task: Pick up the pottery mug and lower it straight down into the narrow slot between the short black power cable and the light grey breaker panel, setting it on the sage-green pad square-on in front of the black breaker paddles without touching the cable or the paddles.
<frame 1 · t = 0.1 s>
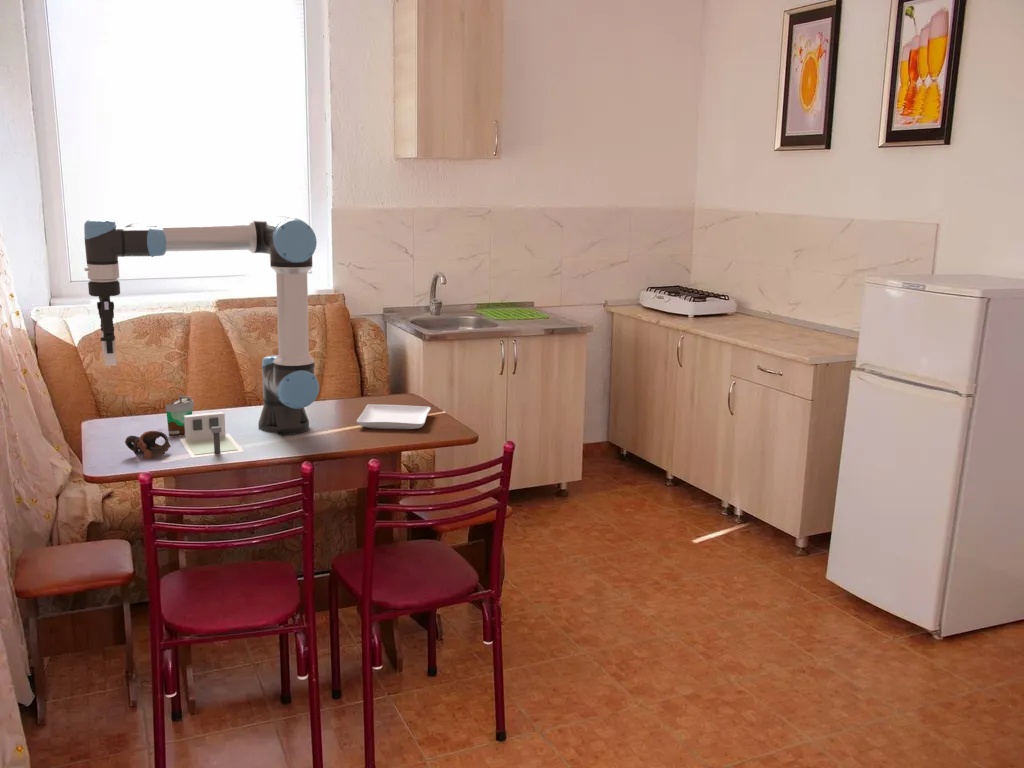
hand: (109, 360, 247), 28 cm above the table, tool pointing down, fingers open, 13 cm apart
salad plate: (394, 423, 298), on the table
breaker paddles: (205, 424, 270), point 6 cm above the table, hinge at 0.0°
food container: (184, 433, 281), on the table
pottery mug: (148, 457, 257), on the table
power cable: (216, 440, 257), point 5 cm above the table, hinge at 0.0°
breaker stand: (211, 448, 265), on the table
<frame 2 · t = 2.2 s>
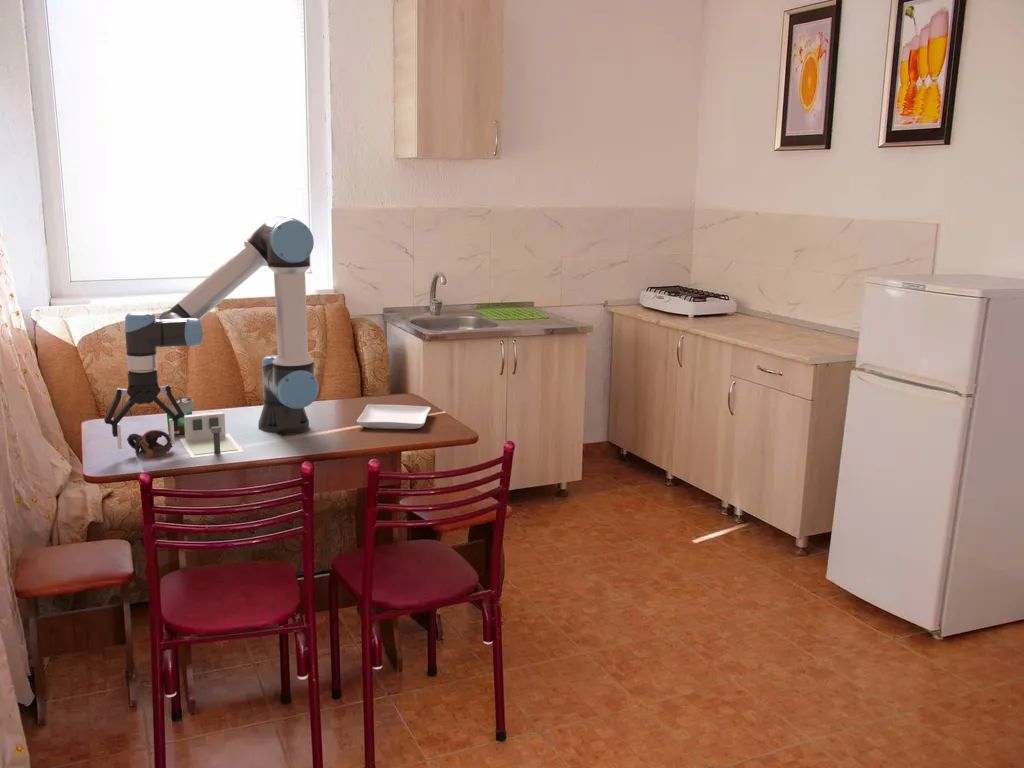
hand: (146, 445, 256), 3 cm above the table, tool pointing down, fingers open, 13 cm apart
pottery mug: (149, 456, 258), on the table, touching gripper
everything else where it was.
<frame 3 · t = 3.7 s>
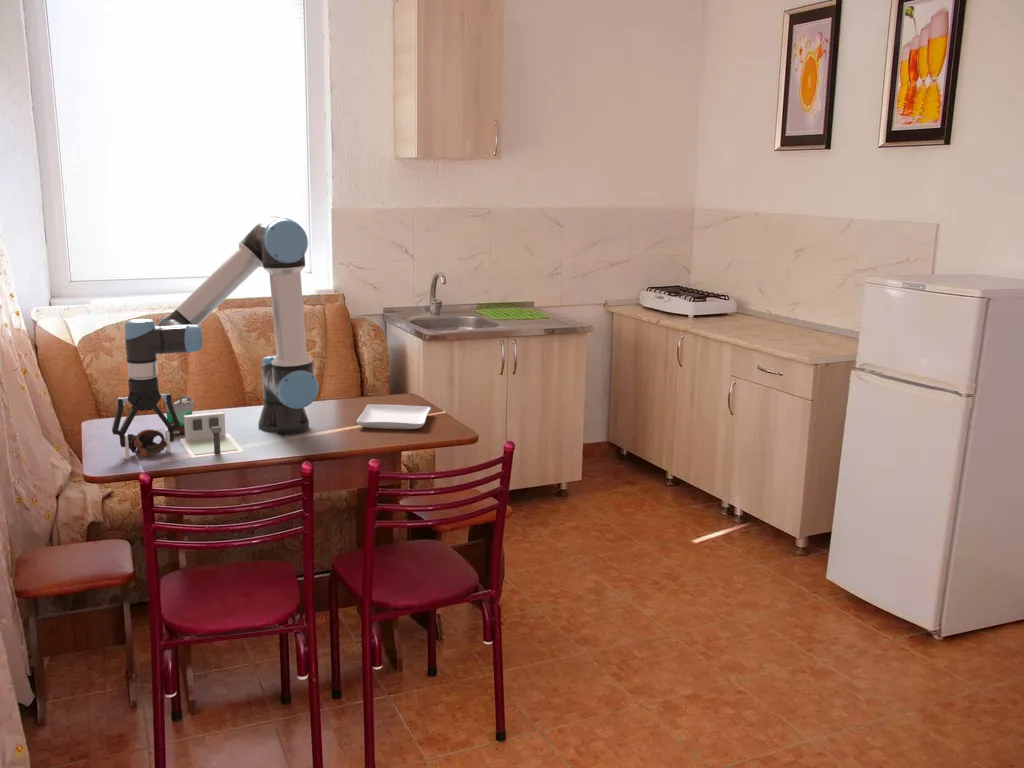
hand: (148, 455, 257), 0 cm above the table, tool pointing down, fingers closed on pottery mug, 10 cm apart
pottery mug: (145, 456, 258), on the table, touching gripper
everything else where it was.
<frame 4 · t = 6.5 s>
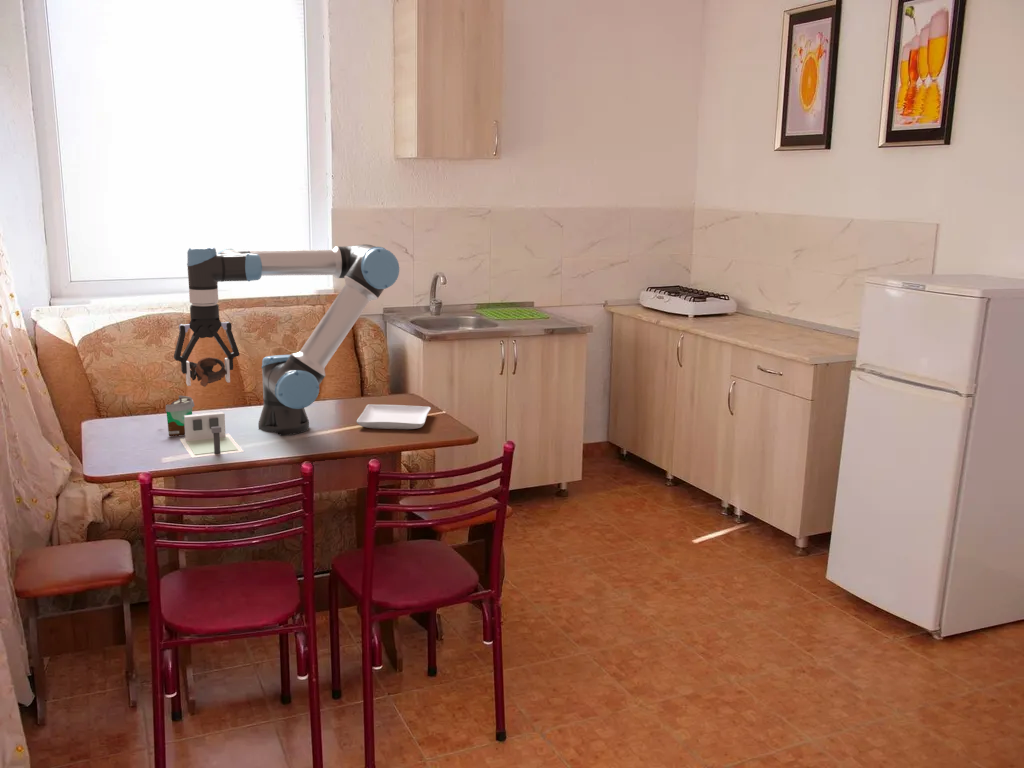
hand: (208, 383, 260), 19 cm above the table, tool pointing down, fingers closed on pottery mug, 10 cm apart
pottery mug: (205, 384, 261), point 19 cm above the table, touching gripper
everything else where it was.
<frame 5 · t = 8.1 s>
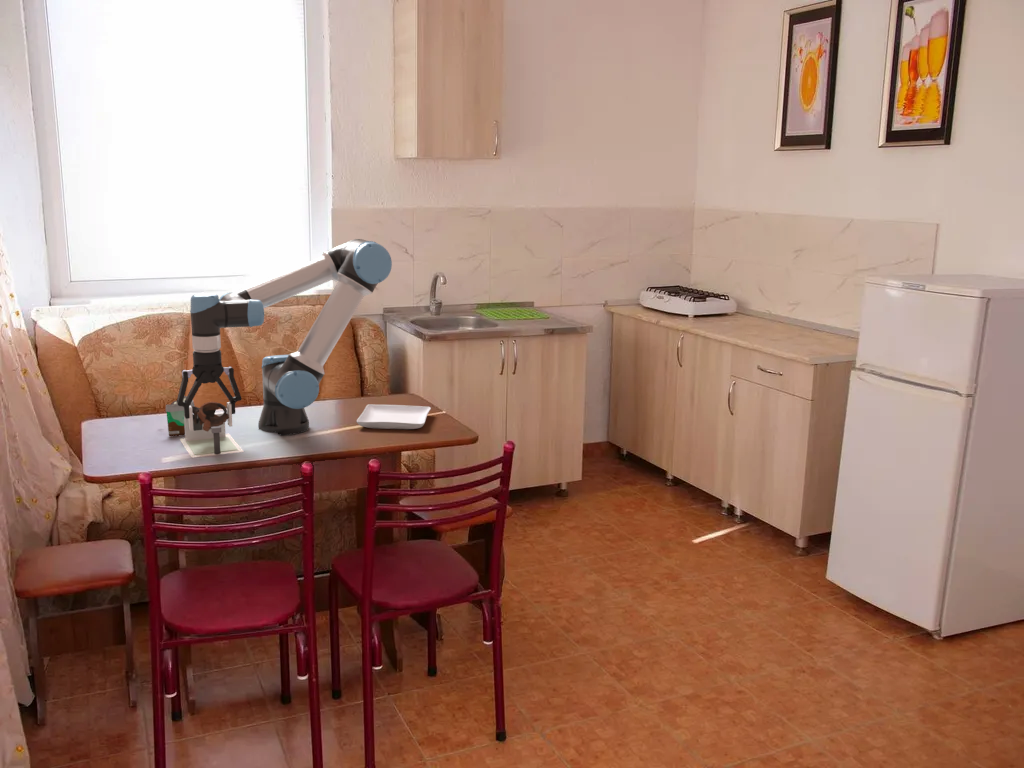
hand: (210, 427, 263), 7 cm above the table, tool pointing down, fingers closed on pottery mug, 10 cm apart
pottery mug: (208, 428, 264), point 6 cm above the table, touching gripper
everything else where it was.
when the fingers open (3 cm above the table, at t = 9.3 s): pottery mug drops 2 cm, resting on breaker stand.
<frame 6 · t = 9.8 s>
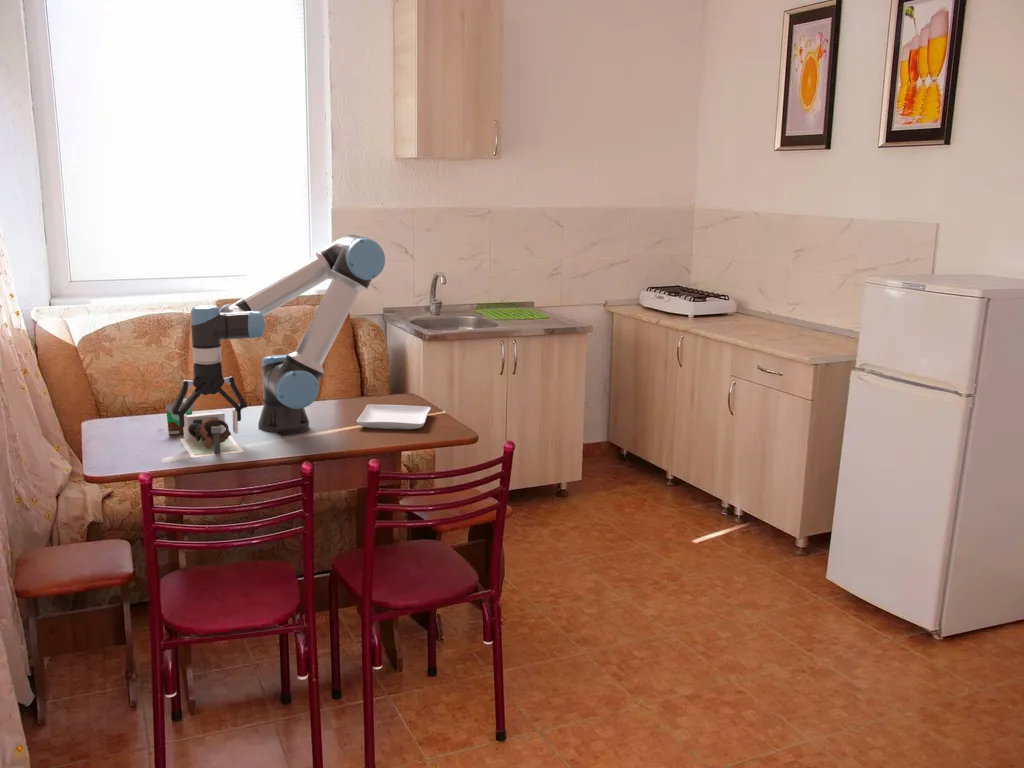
hand: (211, 435, 264), 4 cm above the table, tool pointing down, fingers open, 13 cm apart
pottery mug: (209, 444, 265), point 1 cm above the table, touching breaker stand
everything else where it was.
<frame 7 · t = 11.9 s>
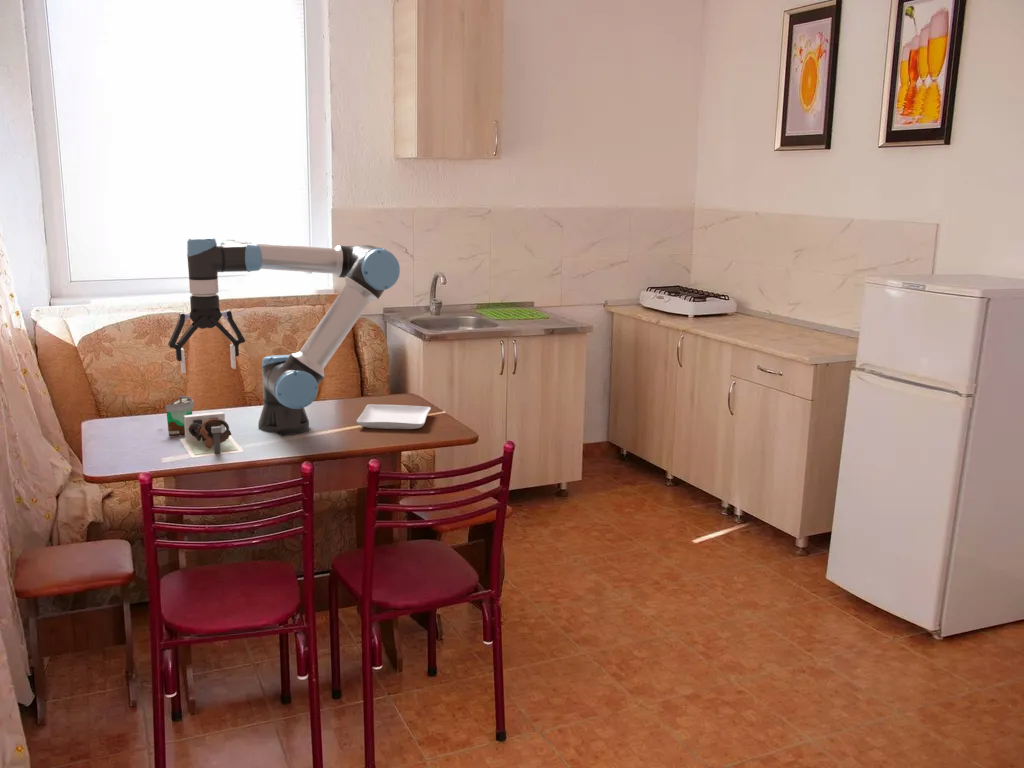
hand: (208, 370, 260), 23 cm above the table, tool pointing down, fingers open, 13 cm apart
nothing on the table moved.
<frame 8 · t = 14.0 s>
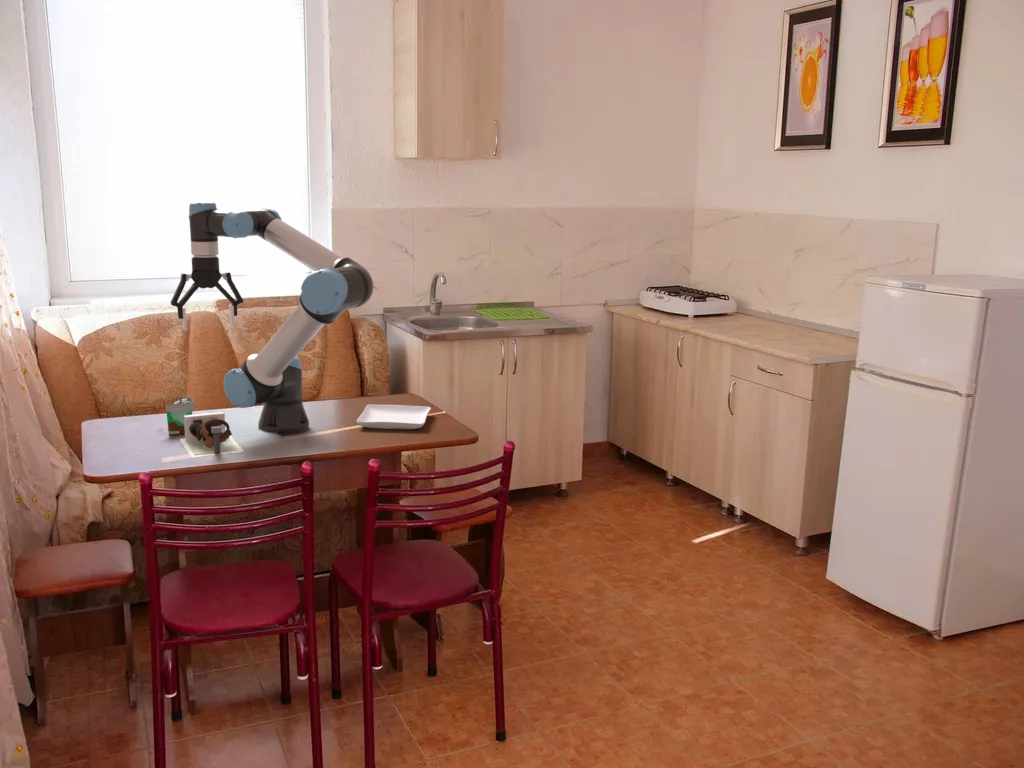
hand: (208, 328, 275), 32 cm above the table, tool pointing down, fingers open, 13 cm apart
nothing on the table moved.
at the end: pottery mug 1.6 cm from the target spot on the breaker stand, point 1.0 cm above the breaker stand's base; power cable at +0° (first picture: +0°); breaker paddles at +0° (first picture: +0°) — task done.
